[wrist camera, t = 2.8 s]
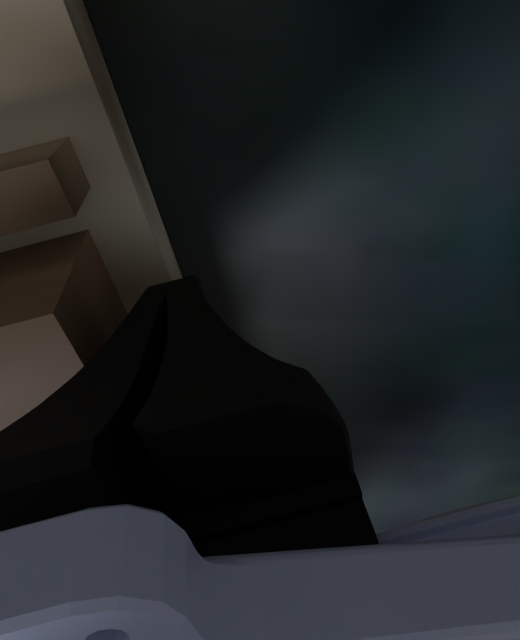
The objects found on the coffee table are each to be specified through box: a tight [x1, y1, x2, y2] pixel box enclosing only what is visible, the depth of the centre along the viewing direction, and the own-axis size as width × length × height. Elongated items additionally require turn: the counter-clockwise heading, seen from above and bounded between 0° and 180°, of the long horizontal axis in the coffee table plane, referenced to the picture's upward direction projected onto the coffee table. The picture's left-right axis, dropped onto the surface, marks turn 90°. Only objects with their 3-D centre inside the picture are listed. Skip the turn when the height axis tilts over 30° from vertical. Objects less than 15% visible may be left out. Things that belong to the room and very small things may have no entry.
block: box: [0, 230, 128, 431], centre depth 11 cm, size 5×5×4 cm
